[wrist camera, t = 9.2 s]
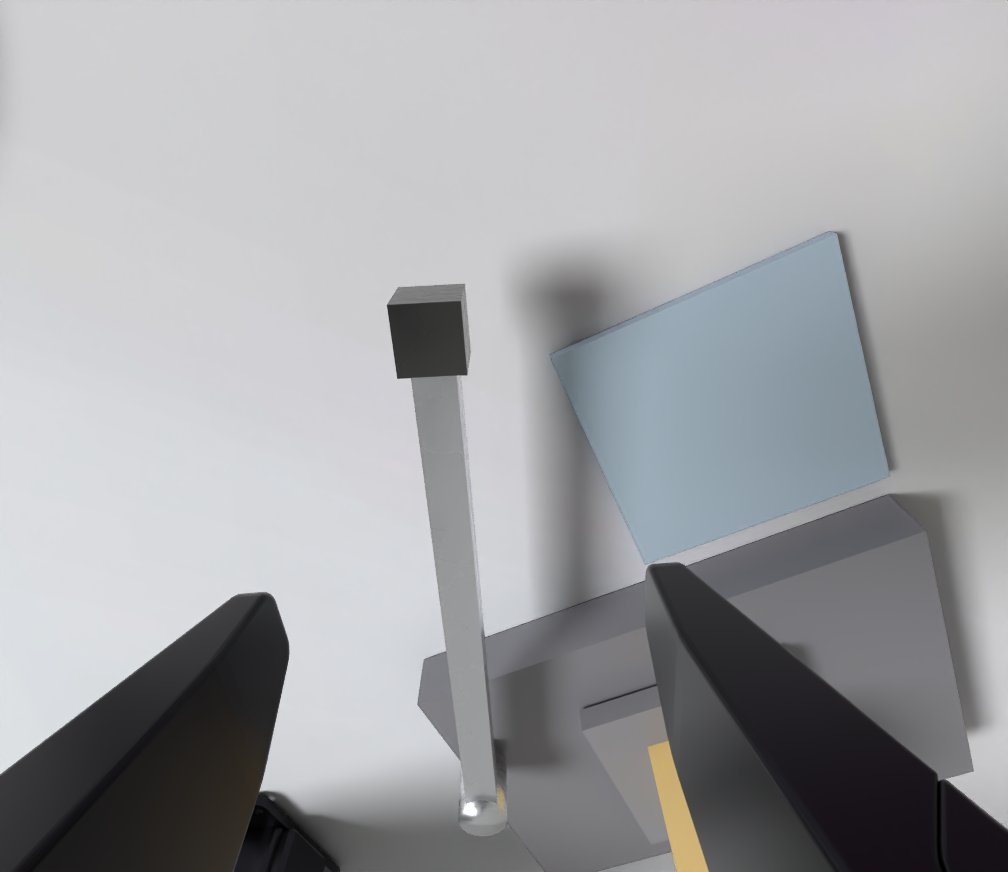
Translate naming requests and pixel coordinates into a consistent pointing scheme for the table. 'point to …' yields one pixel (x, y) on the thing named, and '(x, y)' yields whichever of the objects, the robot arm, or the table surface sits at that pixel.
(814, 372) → the mat
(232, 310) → the table surface
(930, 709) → the socket plate
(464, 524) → the metal lever bar
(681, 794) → the plug
